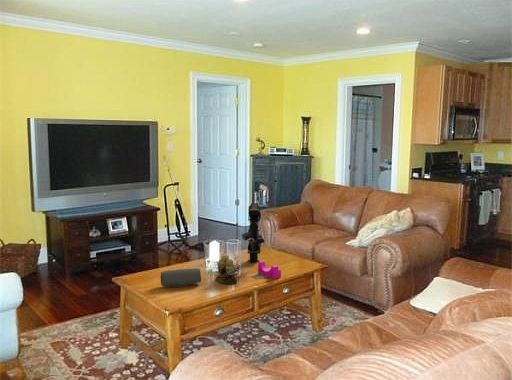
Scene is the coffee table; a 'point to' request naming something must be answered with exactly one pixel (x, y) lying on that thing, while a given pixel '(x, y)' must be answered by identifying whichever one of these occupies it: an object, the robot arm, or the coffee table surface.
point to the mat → (259, 276)
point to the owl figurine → (226, 271)
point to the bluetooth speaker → (180, 277)
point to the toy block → (269, 270)
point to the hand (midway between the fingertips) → (253, 250)
